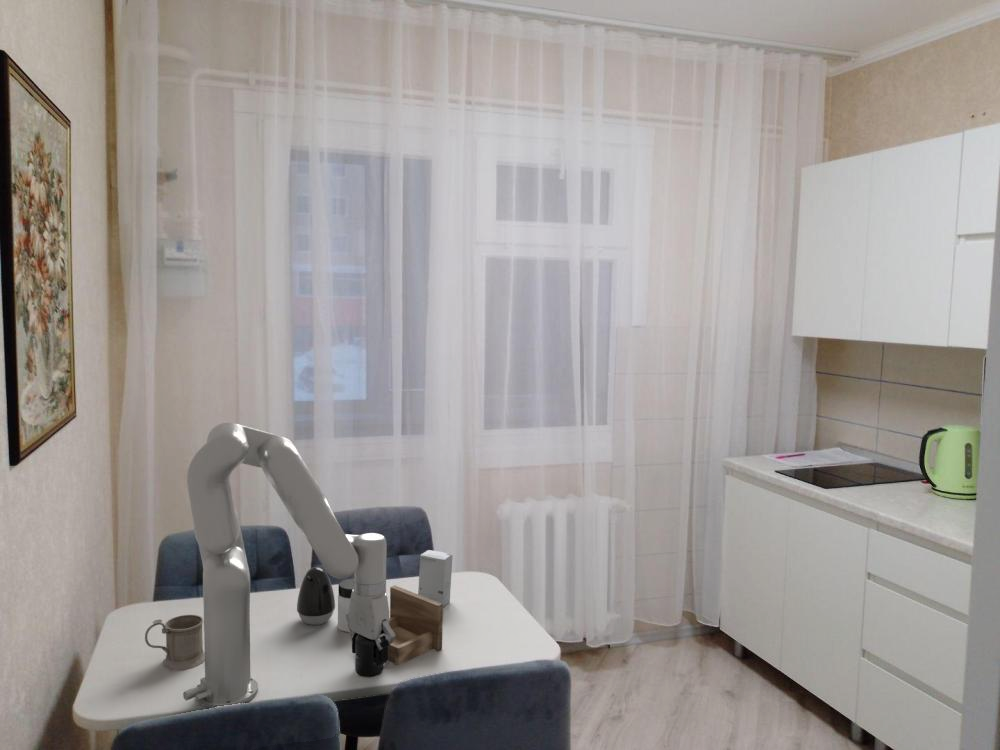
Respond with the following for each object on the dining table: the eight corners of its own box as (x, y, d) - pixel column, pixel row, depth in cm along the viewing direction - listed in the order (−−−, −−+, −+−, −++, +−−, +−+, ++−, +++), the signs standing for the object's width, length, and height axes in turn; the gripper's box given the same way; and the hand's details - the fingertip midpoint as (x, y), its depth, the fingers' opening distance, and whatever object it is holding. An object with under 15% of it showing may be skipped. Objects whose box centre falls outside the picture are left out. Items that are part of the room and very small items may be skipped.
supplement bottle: (349, 673, 177) (349, 625, 176) (366, 661, 183) (367, 614, 182) (372, 681, 174) (372, 631, 173) (389, 668, 180) (390, 620, 179)
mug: (193, 646, 188) (192, 601, 187) (214, 659, 182) (213, 612, 181) (136, 667, 177) (134, 619, 176) (155, 681, 171) (154, 631, 170)
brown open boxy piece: (403, 668, 180) (403, 620, 179) (355, 644, 191) (355, 599, 190) (442, 649, 190) (442, 604, 189) (394, 628, 202) (394, 585, 200)
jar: (343, 635, 196) (343, 591, 195) (332, 624, 203) (332, 581, 202) (375, 628, 201) (375, 585, 200) (363, 617, 208) (363, 575, 207)
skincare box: (417, 604, 218) (417, 555, 216) (426, 596, 223) (427, 548, 222) (443, 609, 215) (444, 559, 213) (452, 601, 220) (452, 552, 219)
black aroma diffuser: (289, 626, 201) (289, 572, 199) (308, 611, 211) (308, 559, 210) (324, 631, 199) (324, 576, 197) (341, 615, 209) (341, 563, 207)
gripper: (334, 581, 179) (334, 651, 181) (382, 601, 168) (381, 675, 170) (358, 573, 185) (358, 640, 186) (407, 591, 174) (406, 663, 175)
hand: (369, 656), depth 178 cm, fingers open, 8 cm apart
